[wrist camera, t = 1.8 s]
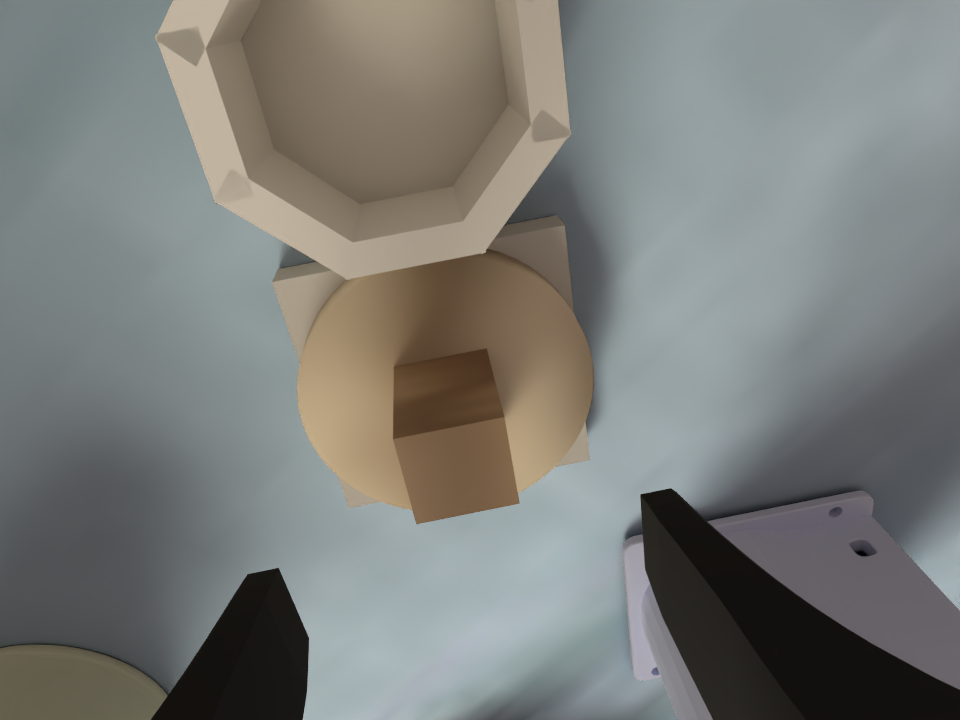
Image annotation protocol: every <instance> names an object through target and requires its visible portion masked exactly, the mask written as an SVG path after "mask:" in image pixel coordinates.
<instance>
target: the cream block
mask: <svg viewBox="0 0 960 720" xmlns="http://www.w3.org/2000/svg"><path fill="white" fill-rule="evenodd" d="M487 249H490V250H494V251H498V252H500V253H503V254H505V255H508V256H510V257H513V258H515V259H517V260H519V261H521V262H522V263H524V264H526V265H528V266H529V267H531V268H533V269H534V270H535V271H537V272H538V273H539V274H540V275H542V276H543V277H544V278H546V279H547V280H548V281H549V282H550V283H551V284H552V285H553V286H554V287H555V288H556V289H557V290H558V292H559V293H560V294H561V295H562V297H563V298H564V300H565V301H566V302H567V304H568V305H569V307H570V308H571V310H572V312H573V314H574V307H573V298H572V288H571V279H570V269H569V260H568V250H567V241H566V231H565V225H564V223H563V222H562V221H561V219H560V218H559V217H558V216H557V215H555V216H550V217H544V218H539V219H534V220H529V221H524V222H519V223H513V224H508V225H504V226H503V227H502V229H501V230H500V231H499V233H498V234H497V236H496V237H495V238H494V240H493V241H492V242H491V244H490V245H489V247H488V248H487ZM347 280H348V279H347ZM345 281H346V280H345V278H344V277H342V276H341V275H339V274H337V273H336V272H334V271H332V270H331V269H329V268H327V267H325V266H324V265H322V264H320V263H319V262H312V263H307V264H302V265H297V266H292V267H287V268H281V269H278V270H277V273H276V275H275V277H274V279H273V281H272V283H273V286H274V289H275V292H276V295H277V298H278V301H279V304H280V307H281V310H282V313H283V316H284V319H285V322H286V325H287V328H288V331H289V333H290V336H291V339H292V342H293V345H294V348H295V351H296V354H297V357H298V360H299V363H300V362H301V358H302V354H303V350H304V347H305V343H306V340H307V337H308V335H309V332H310V329H311V327H312V324H313V322H314V321H315V319H316V317H317V315H318V313H319V312H320V310H321V308H322V307H323V306H324V304H325V303H326V302H327V300H328V299H329V298H330V296H331V295H332V294H333V293H334V292H335V291H336V290H337V289H338V288H339V287H340V286H341V285H342V284H343V283H344V282H345ZM587 460H589V450H588V441H587V431H586V421H585V423H584V426H583V428H582V430H581V432H580V434H579V436H578V437H577V439H576V441H575V442H574V444H573V446H572V447H571V448H570V450H569V451H568V452H567V453H566V455H565V456H564V457H563V459H562V460H561V461H560V462H559V463H558V464H557V465H556V466H555V467H557V466H562V465H567V464H572V463H577V462H582V461H587ZM338 478H339V481H340V484H341V487H342V490H343V493H344V496H345V499H346V501H347V504H348V507H349V508H352V507H357V506H362V505H367V504H372V503H377V502H381V501H379V500H376V499H374V498H371V497H369V496H367V495H366V494H364V493H362V492H360V491H358V490H356V489H355V488H353V487H352V486H351V485H349V484H348V483H346V482H345V481H343V480H342V479H341V478H340V477H339V476H338Z"/></svg>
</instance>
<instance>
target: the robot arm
mask: <svg viewBox="0 0 960 720" xmlns="http://www.w3.org/2000/svg"><path fill="white" fill-rule="evenodd" d="M640 496H641V512H642V529H643V534H642V535H637V536H633V537H630V538H628V539H627V540H626V541H625V542H624V543H623V545H622V557H623V569H624V581H625V593H626V605H627V618H628V630H629V642H630V654H631V666H632V671H633V674H634V676H635V678H636V679H638V680H642V681H644V680H650V679H655V678H660V677H661V678H662V681H663V684H664V686H665V689H666V691H667V694H668V696H669V699H670V702H671V704H672V707H673V709H674V712H675V714H676V717H677V719H678V720H960V611H959V610H958V608H957V607H956V606H955V605H954V604H953V603H952V602H951V601H950V600H949V599H948V598H947V597H946V596H945V594H944V593H943V592H942V591H941V590H940V589H939V588H938V587H937V586H936V585H935V584H934V583H933V582H932V580H931V579H930V578H929V577H928V576H927V575H926V574H925V573H924V572H923V571H922V570H921V569H920V567H919V566H918V565H917V564H916V563H915V562H914V561H913V560H912V559H911V558H910V557H909V556H908V555H907V553H906V552H905V551H904V550H903V549H902V548H901V547H900V546H899V545H898V544H897V543H896V542H895V540H894V539H893V538H892V537H891V536H890V535H889V534H888V533H887V532H886V531H885V530H884V529H883V528H882V526H881V525H880V524H879V523H878V522H877V521H876V520H875V519H874V518H873V517H872V513H873V507H874V500H873V499H872V497H871V496H870V495H869V494H868V493H867V492H865V491H854V492H849V493H844V494H839V495H834V496H829V497H824V498H819V499H814V500H810V501H805V502H800V503H795V504H790V505H785V506H780V507H775V508H770V509H765V510H760V511H755V512H750V513H745V514H740V515H736V516H731V517H726V518H721V519H716V520H711V521H706V520H705V519H704V518H703V517H702V516H701V515H700V514H699V513H698V512H697V511H696V510H694V509H693V508H692V507H691V506H690V505H689V504H688V503H687V502H686V501H685V500H684V499H683V498H682V497H681V496H680V495H679V494H678V493H677V492H675V491H674V490H672V489H671V488H670V489H665V490H661V491H656V492H651V493H646V494H641V495H640ZM831 509H832V510H831ZM308 651H309V637H308V635H307V633H306V630H305V628H304V626H303V623H302V621H301V619H300V616H299V614H298V612H297V609H296V607H295V605H294V602H293V600H292V598H291V596H290V593H289V591H288V589H287V586H286V584H285V582H284V579H283V577H282V575H281V572H280V570H279V568H276V569H272V570H267V571H262V572H257V573H252V574H248V575H247V576H246V578H245V579H244V580H243V582H242V584H241V585H240V587H239V588H238V590H237V591H236V593H235V595H234V596H233V598H232V599H231V601H230V602H229V604H228V606H227V607H226V609H225V610H224V612H223V614H222V615H221V617H220V618H219V620H218V622H217V623H216V625H215V626H214V628H213V629H212V631H211V633H210V634H209V636H208V637H207V639H206V640H205V642H204V643H203V645H202V646H201V648H200V649H199V651H198V652H197V654H196V655H195V657H194V659H193V660H192V662H191V663H190V665H189V666H188V668H187V669H186V671H185V672H184V674H183V675H182V676H181V678H180V679H179V681H178V682H177V684H176V685H175V687H174V688H173V689H172V691H171V692H170V693H169V695H168V696H167V698H166V699H165V700H164V702H163V703H162V705H161V706H160V707H159V709H158V710H157V711H156V713H155V714H154V716H153V717H152V718H151V720H303V713H304V707H305V700H306V693H307V678H308Z"/></svg>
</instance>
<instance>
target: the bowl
mask: <svg viewBox="0 0 960 720" xmlns="http://www.w3.org/2000/svg"><path fill="white" fill-rule="evenodd" d="M155 36H156V39H155V40H156V41H158V44H159V47H160V50H161V52H162V55H163V58H164V61H165V64H166V66H167V69H168V72H169V75H170V77H171V80H172V83H173V86H174V89H175V91H176V94H177V97H178V100H179V102H180V105H181V108H182V111H183V113H184V116H185V119H186V122H187V125H188V127H189V130H190V133H191V136H192V138H193V141H194V144H195V147H196V149H197V152H198V155H199V158H200V161H201V163H202V166H203V169H204V172H205V174H206V177H207V180H208V183H209V185H210V188H211V191H212V194H213V197H214V200H213V201H215V202H216V204H220V205H222V206H223V207H225V208H227V209H228V210H230V211H232V212H233V213H235V214H237V215H239V216H240V217H242V218H244V219H245V220H247V221H249V222H250V223H252V224H254V225H256V226H257V227H259V228H261V229H262V230H264V231H266V232H268V233H269V234H271V235H273V236H274V237H276V238H278V239H279V240H281V241H283V242H285V243H286V244H288V245H290V246H291V247H293V248H295V249H296V250H298V251H300V252H302V253H303V254H305V255H307V256H308V257H310V258H312V259H313V260H315V261H317V262H319V263H320V264H322V265H324V266H325V267H327V268H329V269H331V270H332V271H334V272H336V273H337V274H339V275H341V276H342V277H344V278H345V280H347V279H348V280H350V279H352V278H357V277H362V276H367V275H372V274H378V273H383V272H388V271H393V270H398V269H403V268H408V267H414V266H419V265H424V264H429V263H434V262H439V261H444V260H450V259H455V258H460V257H465V256H470V255H475V254H480V253H481V254H483V253H486V249H487V248H488V247H489V245H490V244H491V242H492V241H493V240H494V238H495V237H496V236H497V234H498V233H499V231H500V230H501V229H502V227H503V226H504V225H505V223H506V222H507V220H508V219H509V218H510V216H511V215H512V214H513V212H514V211H515V209H516V208H517V207H518V205H519V204H520V203H521V201H522V200H523V198H524V197H525V196H526V194H527V193H528V192H529V190H530V189H531V187H532V186H533V185H534V183H535V182H536V181H537V179H538V178H539V176H540V175H541V174H542V172H543V171H544V170H545V168H546V167H547V165H548V164H549V163H550V161H551V160H552V159H553V157H554V156H555V154H556V153H557V152H558V150H559V149H560V148H561V146H562V145H563V143H564V142H565V141H566V139H567V138H568V136H571V131H570V124H569V113H568V102H567V92H566V81H565V71H564V60H563V50H562V39H561V28H560V18H559V7H558V0H173V2H172V4H171V6H170V8H169V11H168V13H167V15H166V17H165V19H164V21H163V24H162V26H161V28H160V30H159V32H158V34H156V35H155Z"/></svg>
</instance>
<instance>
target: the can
mask: <svg viewBox="0 0 960 720" xmlns="http://www.w3.org/2000/svg"><path fill="white" fill-rule="evenodd" d="M167 696H168V695H167V694H166V693H165V692H164V690H163V689H162V688H161V687H160V686H159V685H158V684H157V683H155V682H154V681H153V680H152V679H151V678H150V677H148V676H147V675H145V674H144V673H142V672H141V671H139V670H137V669H135V668H134V667H132V666H130V665H128V664H126V663H124V662H122V661H119V660H117V659H115V658H112V657H109V656H106V655H103V654H100V653H97V652H93V651H89V650H85V649H80V648H74V647H68V646H58V645H18V646H10V647H4V648H0V720H151V718H152V717H153V716H154V714H155V713H156V711H157V710H158V709H159V707H160V706H161V705H162V703H163V702H164V700H165V699H166V698H167Z"/></svg>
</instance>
